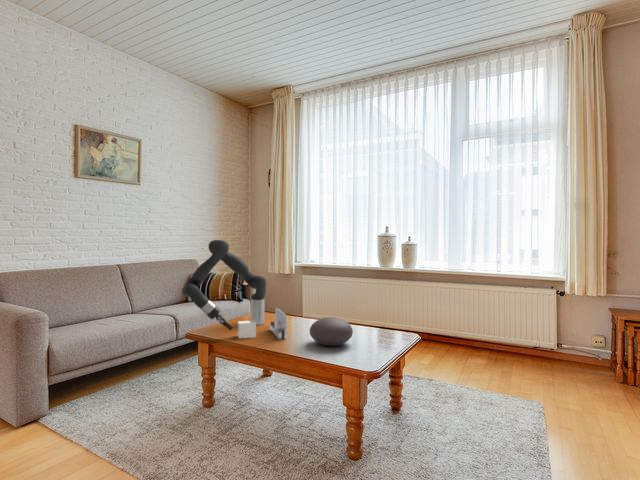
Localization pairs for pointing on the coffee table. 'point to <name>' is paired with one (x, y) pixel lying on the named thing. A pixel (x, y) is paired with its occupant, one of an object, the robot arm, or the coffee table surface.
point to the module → (246, 329)
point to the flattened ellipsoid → (331, 331)
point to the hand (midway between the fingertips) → (231, 328)
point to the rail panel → (279, 324)
